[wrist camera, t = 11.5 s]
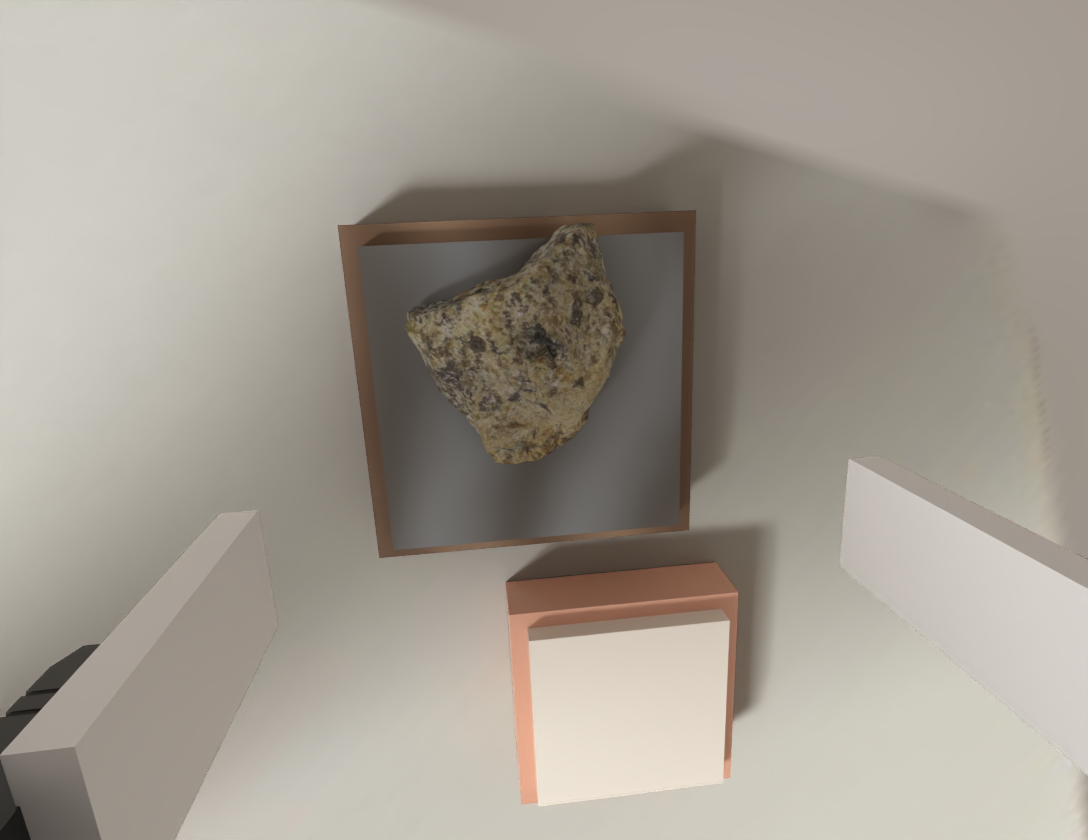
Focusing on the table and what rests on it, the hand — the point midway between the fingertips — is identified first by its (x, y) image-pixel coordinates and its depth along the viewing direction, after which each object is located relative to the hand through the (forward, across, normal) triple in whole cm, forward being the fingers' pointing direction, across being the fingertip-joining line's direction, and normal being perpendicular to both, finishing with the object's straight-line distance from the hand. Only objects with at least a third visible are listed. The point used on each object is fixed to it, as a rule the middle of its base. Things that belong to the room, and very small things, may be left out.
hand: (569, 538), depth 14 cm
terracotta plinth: (+16, +5, -16) cm, 23 cm away
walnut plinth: (+16, 0, 0) cm, 16 cm away
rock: (+12, 0, +3) cm, 13 cm away
